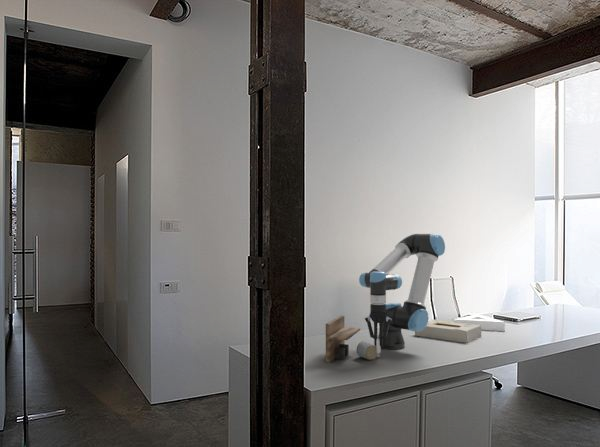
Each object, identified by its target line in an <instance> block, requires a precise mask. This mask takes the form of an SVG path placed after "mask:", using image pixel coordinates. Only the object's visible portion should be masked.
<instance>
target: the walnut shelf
mask: <svg viewBox="0 0 600 447" xmlns="http://www.w3.org/2000/svg"><path fill="white" fill-rule="evenodd" d="M359 331H361V327H350V326H349V327H348V326H345V315H342V314H341V315H339V316H337V317H336V318H333V319H332V320H329V321H328V322H327V323H325V363H331V362H332V361H333V360H335V359H341V360H342V359H343V360H345V358H346V356H349V355H350V354H349V348H350V347H349V344H346V342H345V341H348V340H350V339H351V338H352V337H353V336H355V335H356V334H357V333H359Z"/></svg>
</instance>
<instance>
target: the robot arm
mask: <svg viewBox="0 0 600 447" xmlns="http://www.w3.org/2000/svg"><path fill="white" fill-rule="evenodd" d="M445 250H446V244H445V240H444V238H443V237H442V235H440V233H439V234H438V233H432V232H431V233H413V234H410V235H408V236H406V237H404V238H403V239H402V240H400V241H399V242H398V243H397V244H396V245H395V246H394V249H393V250H392V251H390V252H389V253H388V254H387V255H386V256H385V257H384V258H383V259H381V261H380V262H378V263H377V264H376V265H375V266H374V267H373V268H372V269H371V270H370V271H369V272H362V273H361V274H360V275H359V278H358V282H359V284H360V286H361V287H362V288H367V289H368V288H369V291H370V292H369V293H370V294H369V298H370V306H369V308H370V310H369V311H370V312H369V315H368V316H366V317H364V320H365V322H366V324H367V327H368V328H367V329H368V332H369V337H370V338H371V339H373V342H374V343H373V344H374V345H373V346H375V347H376V349H377V354H381V351H382V350H381V349H384V350H401V349H403V348H405V347H406V345H405V340H404V336H403V333H402V330H406V331H411V332H415V331H421V330H423V329H424V328H425V327H426V325H427V323H428V321H429V313H428V312H429V311H427V307H426V304H425V302H426V298H427V295H428V294H427V293H428V289H429V285H430V282H431V277H432V272H433V269H434V265H435V262H437V261H438V260H439V256H440V257H441V256H443V255H444V254H445V252H446V251H445ZM414 255H416V257H417V262H416V266H415V270H414V273H413V278H412V281H411V282H412V283H411V285H410V289H409V293H408V297H407V300H405V301H404V302H403V305H402V303H400V302H389V303H387V291H391V290H392V291H393V290H395V291H396V290H398V289H400V288H401V287H402V285H403V279H402V277H401V276H400V275H399V274H398V273H397V274H390V273H391V272H392V271H393V270H394V269H395V268H397V266H398V265H400V264H401V263H402V262H403V261H404V260H405V259H408V258H409V257H410V256H414ZM371 321H372V322H373V325H372V323H371ZM372 326H373V327H372ZM378 326H379V329H378Z"/></svg>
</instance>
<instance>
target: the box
mask: <svg viewBox="0 0 600 447" xmlns="http://www.w3.org/2000/svg"><path fill="white" fill-rule="evenodd" d="M414 336H416V337H417V336H418V337H423V338H430V339H439V340H444V341H452V342H459V343H464V344H465V343H466V344H467V343H469V342H471V341H474V340H475V339H478V338H481V337H482V330H481V326H480V325H475V324H468V323H467V324H463V323H454V322H453V321H445V320H439V319H430V320H428V323H427V325H426V327H425V328H424V329H423V330H421V331H414Z"/></svg>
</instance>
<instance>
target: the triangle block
mask: <svg viewBox="0 0 600 447" xmlns="http://www.w3.org/2000/svg"><path fill="white" fill-rule="evenodd" d="M453 320H454V323H463V324H467V323H468V324H475V325H480V326H481V331H493V332H494V331H497V332H505V331H506V324H505V323H506V322H505V321H502V320H499V319H495V318H493V317H489V316H485V315H481V314H477V313H476V314H473V315H467V316H464V317H460V318H454V319H453Z"/></svg>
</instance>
